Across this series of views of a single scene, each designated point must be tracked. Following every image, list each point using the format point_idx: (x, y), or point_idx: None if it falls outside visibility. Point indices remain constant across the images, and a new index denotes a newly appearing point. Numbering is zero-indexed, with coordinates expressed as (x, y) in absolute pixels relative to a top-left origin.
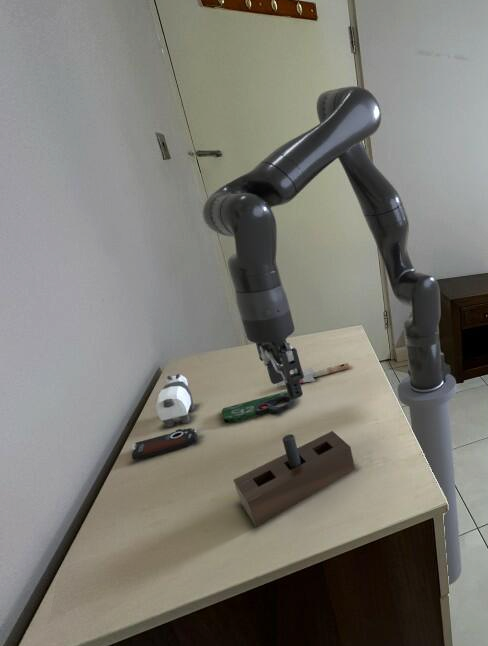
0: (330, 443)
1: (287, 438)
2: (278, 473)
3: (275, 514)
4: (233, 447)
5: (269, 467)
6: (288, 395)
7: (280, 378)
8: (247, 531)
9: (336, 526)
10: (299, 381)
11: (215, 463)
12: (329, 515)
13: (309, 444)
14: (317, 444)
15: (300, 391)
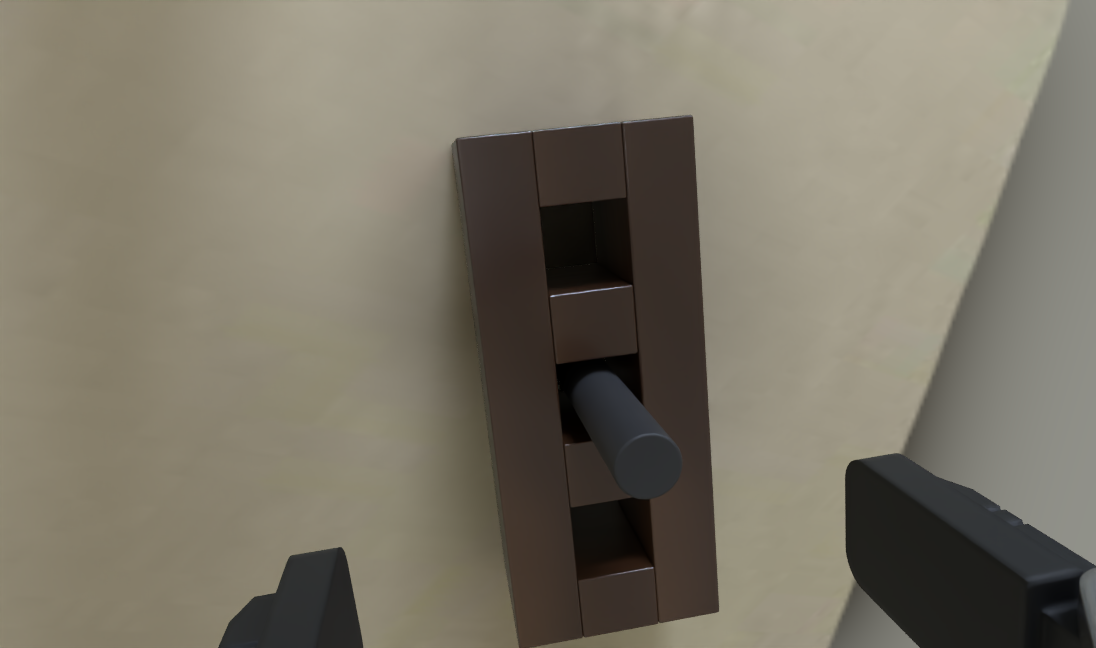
0: (579, 196)
1: (655, 472)
2: None
3: None
4: (19, 557)
5: (550, 507)
6: (877, 601)
7: (346, 602)
8: None
9: (881, 311)
10: (1032, 541)
11: (119, 634)
12: (814, 314)
13: (498, 296)
14: (532, 259)
15: (992, 505)
